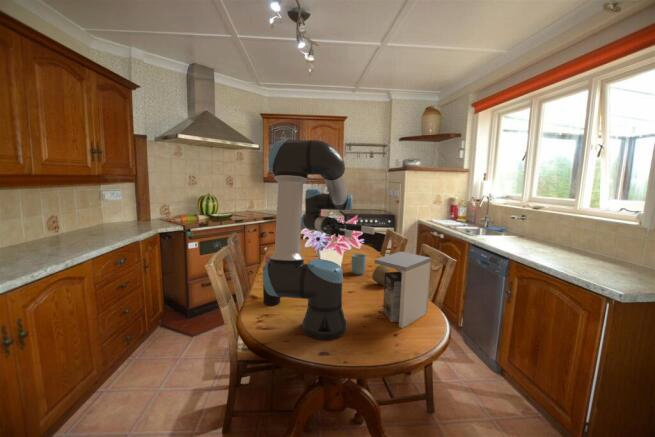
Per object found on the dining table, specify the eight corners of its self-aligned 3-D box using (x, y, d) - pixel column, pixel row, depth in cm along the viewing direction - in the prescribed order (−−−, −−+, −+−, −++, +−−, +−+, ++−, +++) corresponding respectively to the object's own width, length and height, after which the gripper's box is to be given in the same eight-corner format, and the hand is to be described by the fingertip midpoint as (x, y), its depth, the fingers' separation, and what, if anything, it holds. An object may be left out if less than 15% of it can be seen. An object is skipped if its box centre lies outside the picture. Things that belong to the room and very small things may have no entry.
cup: (364, 276, 159) (365, 258, 158) (350, 275, 161) (350, 256, 160) (366, 271, 167) (366, 254, 166) (352, 270, 168) (352, 253, 167)
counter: (402, 328, 106) (406, 267, 102) (372, 315, 115) (374, 259, 111) (427, 312, 118) (431, 257, 115) (398, 302, 127) (401, 251, 124)
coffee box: (382, 311, 118) (384, 271, 116) (397, 310, 120) (399, 271, 117) (391, 322, 109) (393, 280, 107) (407, 321, 111) (410, 279, 108)
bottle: (260, 304, 123) (259, 256, 120) (269, 298, 129) (268, 252, 126) (274, 307, 120) (274, 258, 117) (283, 300, 127) (283, 254, 124)
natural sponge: (395, 287, 144) (396, 267, 143) (378, 289, 142) (378, 268, 140) (385, 281, 153) (386, 262, 151) (369, 282, 150) (370, 263, 149)
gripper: (345, 230, 146) (381, 238, 130) (305, 236, 129) (341, 246, 113) (346, 215, 145) (382, 221, 129) (305, 218, 127) (342, 226, 112)
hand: (363, 232), depth 121 cm, fingers open, 13 cm apart
